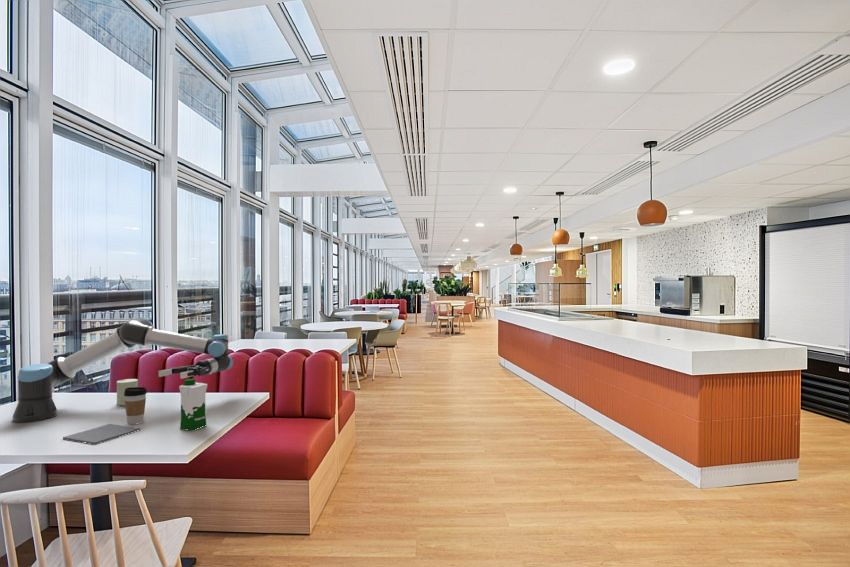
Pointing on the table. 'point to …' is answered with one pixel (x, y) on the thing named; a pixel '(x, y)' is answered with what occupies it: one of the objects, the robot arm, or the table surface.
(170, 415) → the table surface
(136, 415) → the coffee cup
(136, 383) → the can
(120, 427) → the mat
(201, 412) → the milk carton
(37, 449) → the table surface
